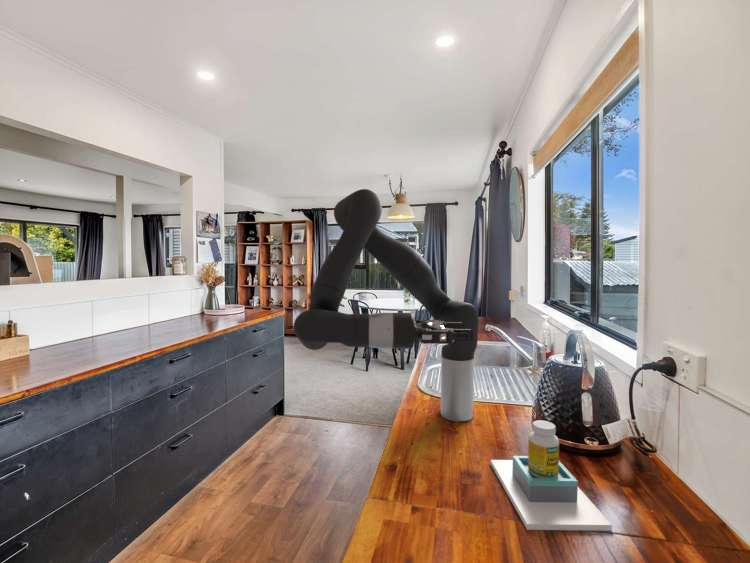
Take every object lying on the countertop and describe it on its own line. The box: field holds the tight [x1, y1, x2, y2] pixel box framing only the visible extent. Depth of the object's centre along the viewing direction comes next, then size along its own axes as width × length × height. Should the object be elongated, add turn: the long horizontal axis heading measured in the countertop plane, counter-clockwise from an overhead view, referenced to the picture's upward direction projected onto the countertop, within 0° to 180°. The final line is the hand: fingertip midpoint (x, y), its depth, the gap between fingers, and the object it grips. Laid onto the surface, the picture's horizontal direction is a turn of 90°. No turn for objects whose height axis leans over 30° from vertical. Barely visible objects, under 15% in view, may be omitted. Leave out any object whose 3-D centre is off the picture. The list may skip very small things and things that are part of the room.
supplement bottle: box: [527, 419, 560, 478], centre depth 71 cm, size 5×5×10 cm
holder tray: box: [490, 455, 613, 532], centre depth 71 cm, size 20×14×5 cm
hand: (467, 331), depth 78 cm, fingers open, 8 cm apart
